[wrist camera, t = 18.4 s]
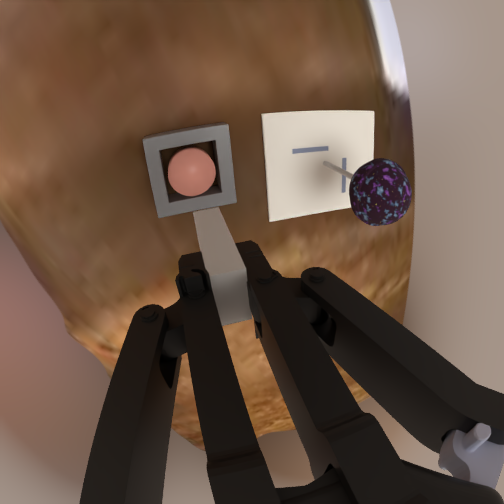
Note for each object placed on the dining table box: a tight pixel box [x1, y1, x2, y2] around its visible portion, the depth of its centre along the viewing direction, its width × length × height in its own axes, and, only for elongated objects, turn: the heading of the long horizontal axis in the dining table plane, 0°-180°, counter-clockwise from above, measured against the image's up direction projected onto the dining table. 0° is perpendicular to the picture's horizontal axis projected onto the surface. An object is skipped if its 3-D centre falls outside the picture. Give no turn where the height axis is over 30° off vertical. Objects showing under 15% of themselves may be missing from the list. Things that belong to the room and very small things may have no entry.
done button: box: [168, 146, 216, 196], centre depth 31 cm, size 5×5×3 cm
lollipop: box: [323, 158, 412, 226], centre depth 30 cm, size 7×7×15 cm
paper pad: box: [261, 110, 374, 222], centre depth 37 cm, size 14×16×1 cm
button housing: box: [143, 122, 237, 218], centre depth 32 cm, size 9×9×3 cm
